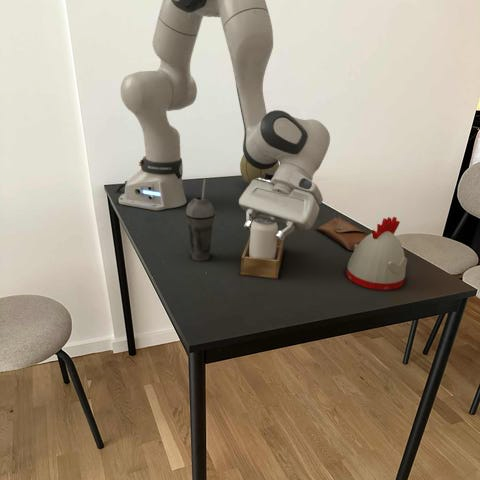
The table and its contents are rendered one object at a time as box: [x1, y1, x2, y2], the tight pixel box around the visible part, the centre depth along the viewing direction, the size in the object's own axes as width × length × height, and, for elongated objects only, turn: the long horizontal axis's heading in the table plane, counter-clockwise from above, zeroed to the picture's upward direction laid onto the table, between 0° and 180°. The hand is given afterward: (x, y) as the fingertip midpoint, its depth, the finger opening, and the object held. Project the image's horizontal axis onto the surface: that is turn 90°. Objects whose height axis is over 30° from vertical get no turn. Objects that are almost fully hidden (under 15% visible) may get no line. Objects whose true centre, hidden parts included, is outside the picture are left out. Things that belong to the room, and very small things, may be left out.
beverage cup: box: [185, 178, 216, 262], centre depth 113 cm, size 7×7×20 cm
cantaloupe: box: [239, 154, 280, 186], centre depth 170 cm, size 15×15×15 cm
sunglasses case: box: [316, 215, 370, 252], centre depth 132 cm, size 18×7×7 cm
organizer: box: [240, 233, 286, 279], centre depth 116 cm, size 9×17×5 cm, turn 171°
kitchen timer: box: [345, 216, 408, 291], centre depth 109 cm, size 14×14×15 cm
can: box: [249, 215, 279, 260], centre depth 111 cm, size 6×6×12 cm
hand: (262, 233), depth 109 cm, fingers open, 8 cm apart
